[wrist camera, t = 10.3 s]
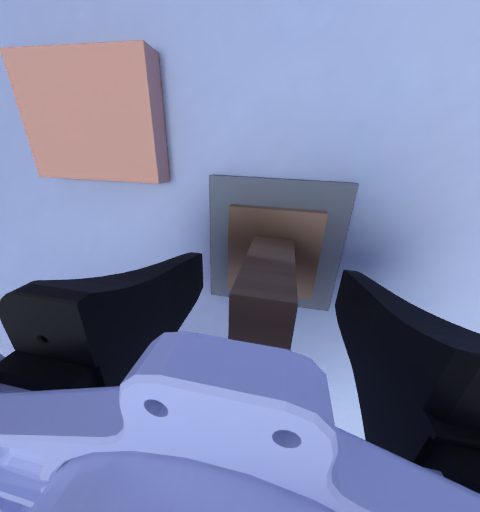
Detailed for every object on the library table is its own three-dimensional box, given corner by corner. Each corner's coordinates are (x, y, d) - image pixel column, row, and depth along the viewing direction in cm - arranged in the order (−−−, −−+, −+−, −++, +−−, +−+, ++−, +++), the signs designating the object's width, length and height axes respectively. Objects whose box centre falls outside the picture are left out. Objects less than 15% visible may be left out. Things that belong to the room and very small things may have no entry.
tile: (158, 183, 14) (143, 40, 12) (39, 176, 16) (-1, 47, 13) (172, 180, 16) (162, 55, 13) (64, 174, 18) (33, 60, 15)
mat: (327, 306, 17) (328, 310, 17) (212, 290, 19) (211, 294, 18) (356, 182, 14) (358, 183, 13) (211, 174, 15) (209, 175, 15)
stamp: (310, 293, 17) (326, 393, 10) (229, 282, 18) (190, 366, 10) (326, 211, 14) (363, 265, 7) (231, 203, 15) (181, 245, 8)
